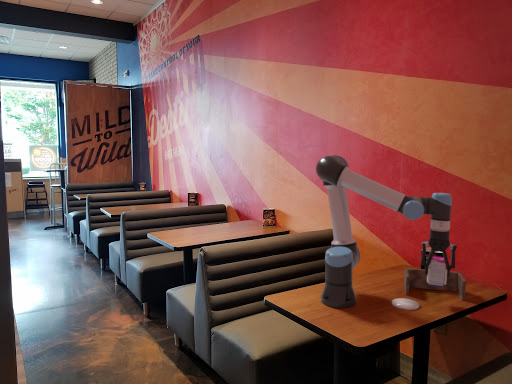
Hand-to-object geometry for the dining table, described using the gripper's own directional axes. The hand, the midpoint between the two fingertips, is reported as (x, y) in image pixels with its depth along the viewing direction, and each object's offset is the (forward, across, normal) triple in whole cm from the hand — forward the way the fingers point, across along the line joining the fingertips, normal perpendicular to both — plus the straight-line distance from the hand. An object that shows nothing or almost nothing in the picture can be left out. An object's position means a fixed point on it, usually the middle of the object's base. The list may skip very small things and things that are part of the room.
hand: (436, 282), depth 167 cm
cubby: (+10, +1, +14) cm, 17 cm away
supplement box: (+1, 0, +3) cm, 3 cm away
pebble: (+10, -12, -4) cm, 16 cm away
